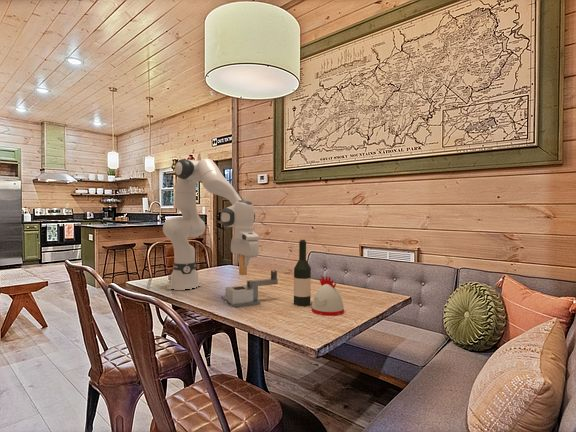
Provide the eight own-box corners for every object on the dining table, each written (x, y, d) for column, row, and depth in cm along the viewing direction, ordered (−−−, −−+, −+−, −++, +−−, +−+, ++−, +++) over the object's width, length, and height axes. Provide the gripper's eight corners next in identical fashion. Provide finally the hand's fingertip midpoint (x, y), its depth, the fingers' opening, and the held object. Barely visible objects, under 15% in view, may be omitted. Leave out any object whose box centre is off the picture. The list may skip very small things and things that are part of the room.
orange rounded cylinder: (244, 273, 163) (245, 252, 163) (248, 274, 160) (248, 253, 160) (237, 274, 161) (238, 252, 161) (241, 275, 158) (242, 253, 158)
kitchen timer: (323, 305, 159) (323, 272, 159) (349, 310, 150) (350, 276, 150) (305, 311, 148) (305, 277, 148) (332, 318, 140) (333, 281, 139)
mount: (221, 298, 169) (221, 279, 169) (245, 295, 175) (245, 277, 175) (233, 307, 153) (233, 286, 153) (260, 304, 159) (260, 283, 159)
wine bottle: (290, 304, 159) (290, 240, 159) (298, 300, 166) (298, 238, 166) (306, 307, 155) (307, 240, 155) (313, 302, 162) (314, 239, 162)
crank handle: (249, 285, 164) (249, 272, 164) (275, 283, 171) (275, 270, 171) (251, 286, 162) (251, 273, 162) (277, 284, 168) (278, 271, 168)
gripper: (227, 233, 167) (227, 261, 167) (249, 237, 150) (248, 268, 151) (239, 233, 170) (238, 260, 171) (261, 236, 154) (260, 267, 154)
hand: (243, 264), depth 161 cm, fingers closed on orange rounded cylinder, 4 cm apart
